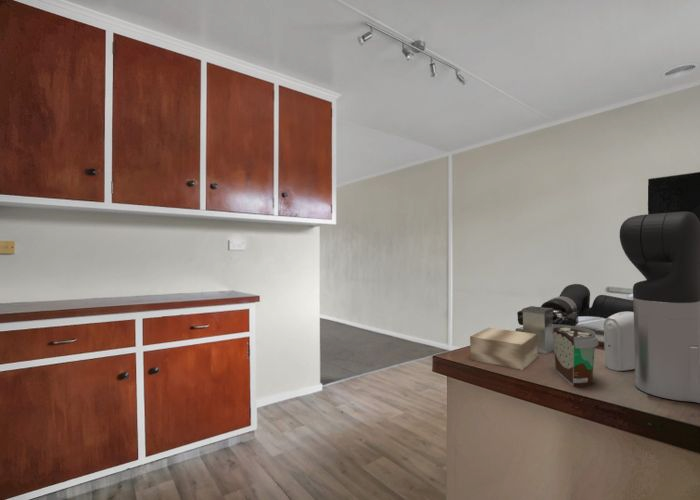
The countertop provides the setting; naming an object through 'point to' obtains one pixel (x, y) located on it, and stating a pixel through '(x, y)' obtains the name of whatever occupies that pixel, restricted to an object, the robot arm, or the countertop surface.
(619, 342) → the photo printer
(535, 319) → the tin canister
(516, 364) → the beech block
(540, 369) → the countertop surface
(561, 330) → the food container
